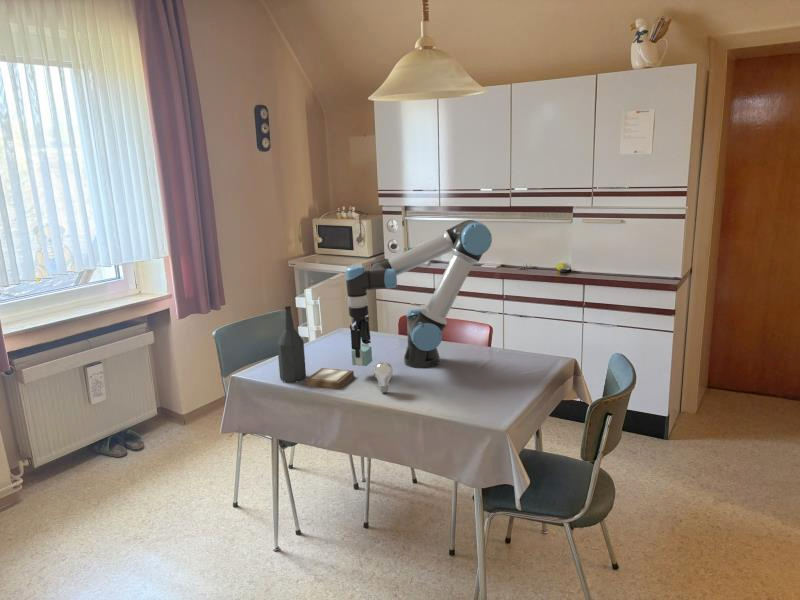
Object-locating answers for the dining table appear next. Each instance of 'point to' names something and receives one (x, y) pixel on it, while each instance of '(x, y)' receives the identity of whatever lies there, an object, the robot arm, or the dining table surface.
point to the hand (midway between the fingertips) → (362, 361)
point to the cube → (363, 356)
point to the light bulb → (383, 375)
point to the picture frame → (330, 378)
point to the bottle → (291, 352)
